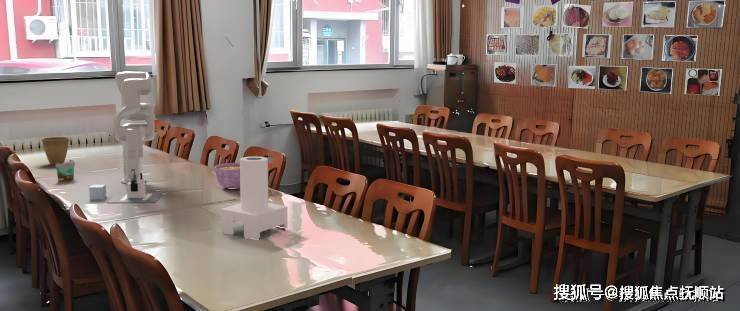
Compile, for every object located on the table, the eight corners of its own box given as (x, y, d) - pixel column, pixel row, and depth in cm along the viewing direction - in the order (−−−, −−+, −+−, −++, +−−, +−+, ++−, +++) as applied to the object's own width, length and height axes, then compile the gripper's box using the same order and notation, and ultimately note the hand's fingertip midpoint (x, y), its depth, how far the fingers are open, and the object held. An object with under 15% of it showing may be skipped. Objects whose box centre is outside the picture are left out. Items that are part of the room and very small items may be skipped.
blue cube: (93, 196, 321) (92, 184, 320) (106, 196, 322) (105, 184, 321) (89, 199, 315) (89, 187, 314) (102, 199, 316) (102, 187, 315)
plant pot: (75, 163, 404) (74, 138, 401) (52, 167, 391) (51, 140, 389) (61, 161, 412) (59, 135, 409) (38, 164, 399) (36, 138, 396)
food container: (66, 182, 351) (65, 164, 349) (56, 182, 352) (55, 163, 350) (81, 178, 362) (80, 160, 361) (71, 177, 364) (70, 159, 362)
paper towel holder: (256, 241, 254) (255, 164, 249) (221, 233, 264) (219, 159, 259) (287, 230, 270) (287, 158, 265) (253, 222, 280) (252, 153, 275)
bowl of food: (260, 186, 350) (260, 165, 348) (238, 193, 332) (237, 171, 331) (230, 182, 359) (229, 161, 357) (206, 189, 341) (205, 167, 339)
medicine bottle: (131, 195, 324) (130, 171, 322) (145, 195, 324) (145, 171, 322) (127, 198, 317) (125, 174, 315) (142, 198, 317) (141, 174, 315)
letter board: (118, 192, 330) (118, 192, 330) (164, 192, 333) (164, 191, 333) (107, 203, 308) (106, 202, 308) (155, 202, 311) (155, 202, 311)
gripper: (131, 150, 325) (132, 185, 328) (122, 156, 308) (123, 193, 311) (146, 150, 326) (148, 185, 329) (138, 156, 309) (140, 193, 312)
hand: (136, 189), depth 320 cm, fingers closed on medicine bottle, 7 cm apart
